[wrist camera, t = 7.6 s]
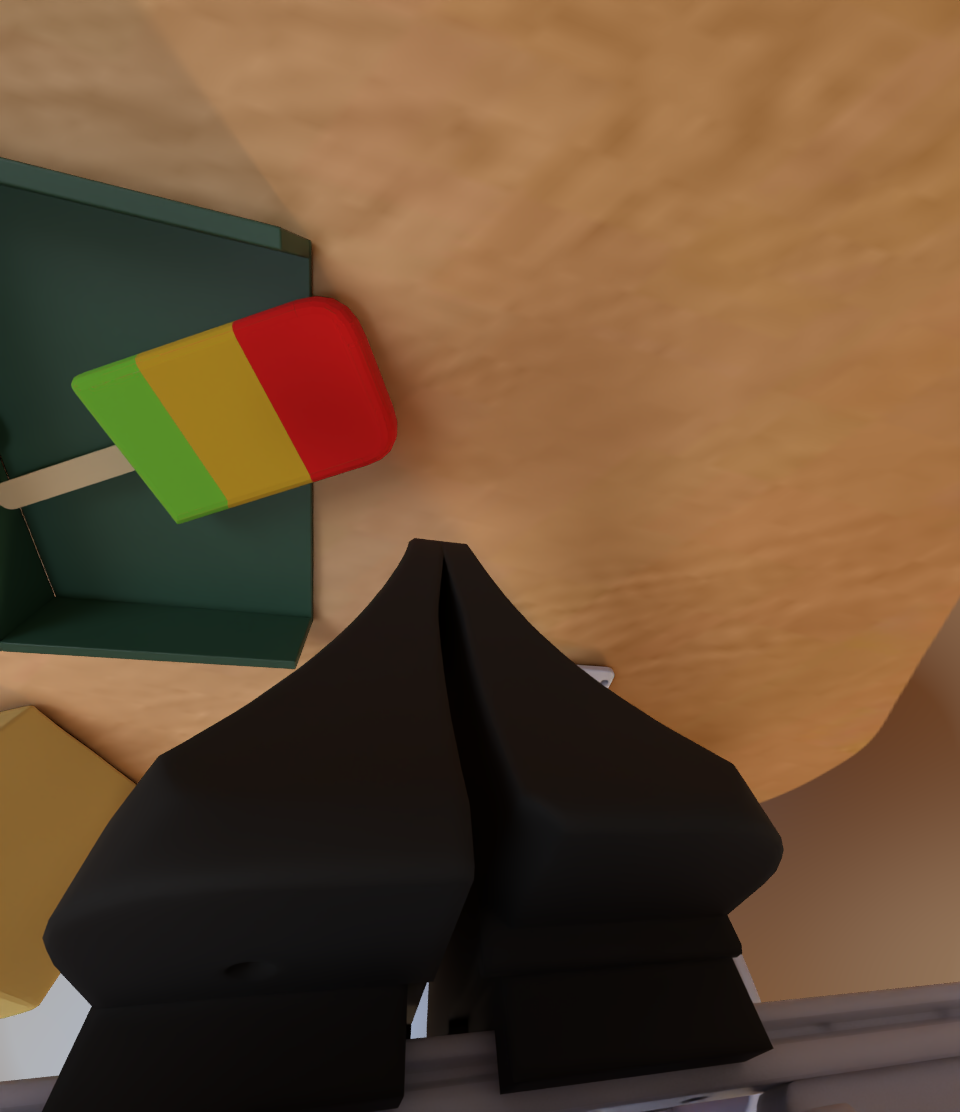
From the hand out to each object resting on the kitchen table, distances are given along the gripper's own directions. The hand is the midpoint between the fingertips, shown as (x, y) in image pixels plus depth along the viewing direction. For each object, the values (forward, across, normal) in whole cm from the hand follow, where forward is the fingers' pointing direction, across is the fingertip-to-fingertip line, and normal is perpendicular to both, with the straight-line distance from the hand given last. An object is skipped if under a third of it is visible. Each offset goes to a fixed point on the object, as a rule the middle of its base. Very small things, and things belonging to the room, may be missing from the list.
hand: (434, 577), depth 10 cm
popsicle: (+9, +9, 0) cm, 13 cm away
